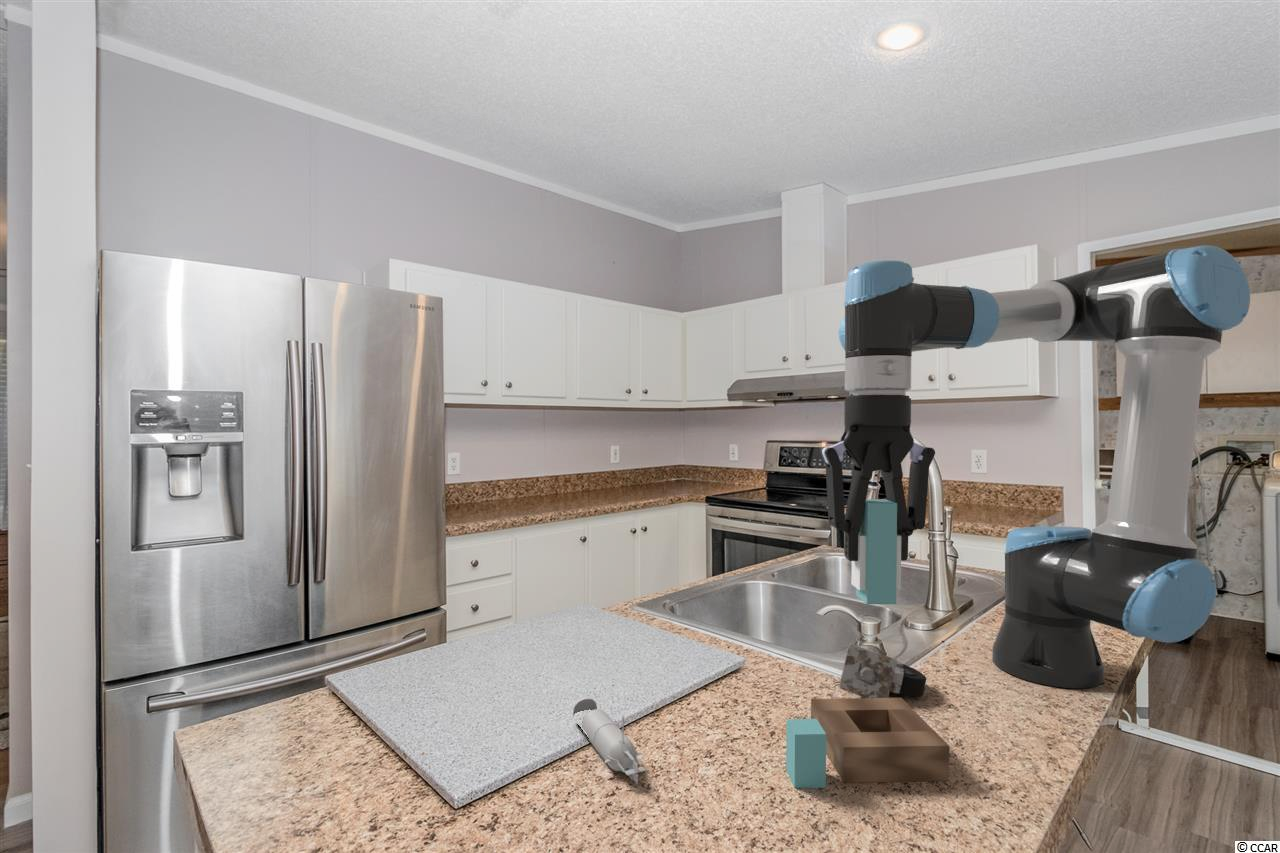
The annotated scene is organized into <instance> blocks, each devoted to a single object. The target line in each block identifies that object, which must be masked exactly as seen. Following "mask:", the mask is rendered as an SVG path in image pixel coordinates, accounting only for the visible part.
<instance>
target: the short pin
mask: <svg viewBox="0 0 1280 853" xmlns="http://www.w3.org/2000/svg"><path fill="white" fill-rule="evenodd" d="M785 725H786V731H785V735H786V736H785V737H786V738H785V742H786V743H785V744H786V745H785V747H786V748H785V750H786V751H785V753H786V754H785V763H786V764H785V767H786V768H785V770H786V773H787V775H788V777H789V779H790V781H791V783H792V785H793V787H794V789H814V788H815V789H818V788H822V789H823V788H826V787H827V755H826V733H825V731H824V730H823V728H822V727H821V725H820V724H819V722H818V721H817V719H811V718H789V719H788V718H786V724H785Z"/></svg>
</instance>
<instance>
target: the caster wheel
mask: <svg viewBox="0 0 1280 853" xmlns="http://www.w3.org/2000/svg"><path fill="white" fill-rule="evenodd" d="M843 665H844V666H843V669H842V671H841V672H842V673H841V675H840V676H841V677H840V681H839V685H838V687H839V689H840V690H843V691H846V692H849V693H851V694H855V695H856V696H859V697H862V698H890V696H889V695H890V693H894V694H897V695H898V694H904V695H908V696H912V697H913V696H914V697H920V696H923V694H924V692H925V687H926V683H927V676H926V675H924V673H922V672H921V671H919V670H917V669H915V668H914V667H911V666H909V665H907V664H905V663H902V662H901V661H898V660H897V659H896V658H893V657H891V656H888V655H885V653H884V652H883V650H882V649H880V648H879V647H877V646H875V645H873V644H863V645H861V646H860V645H859V646H858V645H856V644H853V643H849V645H848V649H847V653H846V657H845V661H844V664H843Z"/></svg>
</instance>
